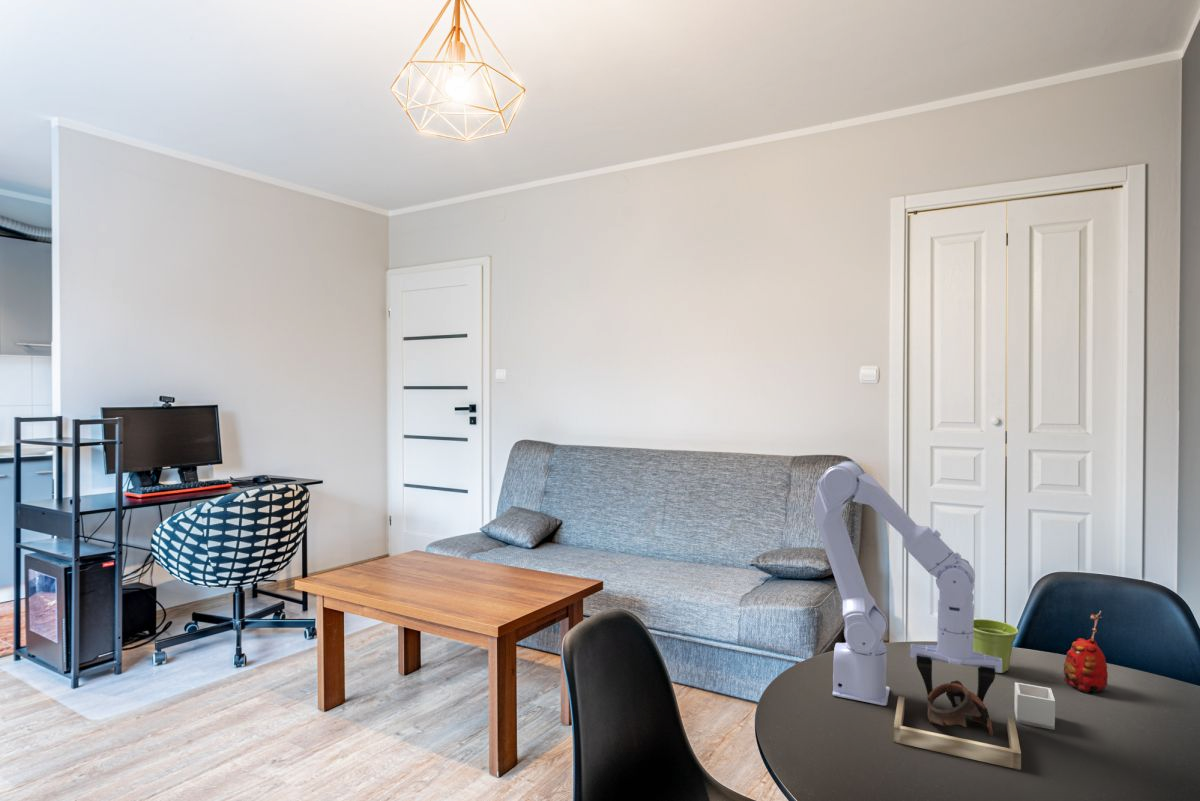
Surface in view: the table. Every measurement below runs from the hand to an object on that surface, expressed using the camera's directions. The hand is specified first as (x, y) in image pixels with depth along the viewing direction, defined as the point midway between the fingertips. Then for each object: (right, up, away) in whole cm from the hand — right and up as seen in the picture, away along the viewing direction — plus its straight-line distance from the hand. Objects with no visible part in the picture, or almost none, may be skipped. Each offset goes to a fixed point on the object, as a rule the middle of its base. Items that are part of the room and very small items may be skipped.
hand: (954, 703), depth 122 cm
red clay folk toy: (+32, -2, +11) cm, 33 cm away
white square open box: (+13, -2, -2) cm, 13 cm away
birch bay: (-4, -2, -8) cm, 9 cm away
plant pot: (+18, -2, +20) cm, 27 cm away
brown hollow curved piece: (-1, -2, -4) cm, 5 cm away
